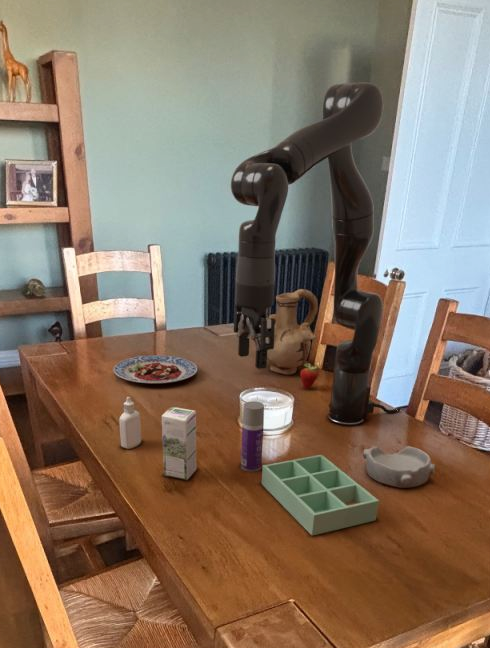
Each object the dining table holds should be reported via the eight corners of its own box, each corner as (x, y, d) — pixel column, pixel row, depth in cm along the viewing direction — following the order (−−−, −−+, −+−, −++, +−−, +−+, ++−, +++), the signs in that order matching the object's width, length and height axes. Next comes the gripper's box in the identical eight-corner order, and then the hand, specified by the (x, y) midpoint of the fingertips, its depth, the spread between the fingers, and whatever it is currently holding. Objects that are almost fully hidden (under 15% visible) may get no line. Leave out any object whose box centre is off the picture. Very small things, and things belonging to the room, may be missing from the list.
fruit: (319, 389, 184) (322, 364, 180) (306, 393, 181) (308, 366, 177) (308, 384, 187) (311, 359, 183) (295, 387, 185) (297, 361, 181)
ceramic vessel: (261, 359, 207) (265, 282, 194) (317, 364, 204) (325, 286, 191) (250, 376, 192) (253, 294, 179) (310, 383, 189) (318, 299, 176)
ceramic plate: (213, 372, 194) (213, 363, 193) (162, 396, 176) (162, 386, 174) (150, 356, 206) (150, 348, 204) (96, 377, 187) (95, 367, 185)
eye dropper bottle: (146, 445, 147) (143, 398, 141) (124, 450, 145) (120, 402, 138) (138, 438, 150) (136, 392, 144) (117, 443, 148) (113, 396, 142)
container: (259, 472, 137) (262, 410, 129) (238, 470, 138) (241, 408, 130) (262, 463, 141) (266, 402, 133) (242, 461, 142) (245, 400, 134)
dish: (353, 467, 141) (356, 447, 139) (403, 457, 146) (406, 438, 143) (390, 496, 130) (394, 475, 127) (442, 485, 135) (447, 465, 132)
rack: (319, 472, 138) (321, 454, 136) (375, 520, 122) (379, 500, 119) (261, 484, 133) (262, 465, 130) (311, 535, 116) (314, 515, 114)
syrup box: (197, 469, 138) (196, 409, 130) (186, 481, 133) (185, 419, 125) (174, 465, 139) (172, 405, 132) (163, 476, 134) (160, 415, 127)
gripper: (289, 286, 115) (283, 370, 123) (257, 272, 126) (253, 350, 134) (253, 288, 112) (249, 374, 121) (223, 274, 123) (222, 353, 132)
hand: (251, 361), depth 127 cm, fingers open, 8 cm apart
